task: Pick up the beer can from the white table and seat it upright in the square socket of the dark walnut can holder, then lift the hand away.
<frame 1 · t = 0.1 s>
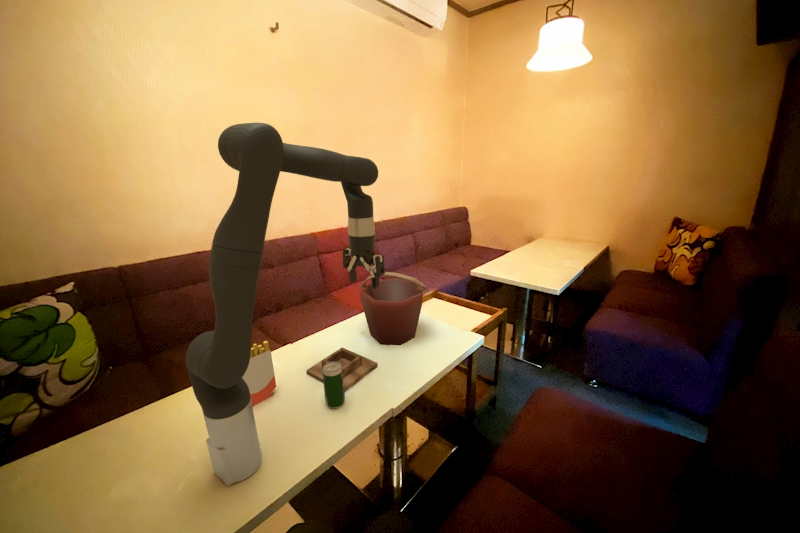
hand: (364, 285, 105), 29 cm above the table, tool pointing down, fingers open, 8 cm apart
bucket: (392, 335, 134), on the table
can holder: (342, 370, 113), on the table
french fries container: (256, 399, 101), on the table
beer can: (335, 403, 99), on the table
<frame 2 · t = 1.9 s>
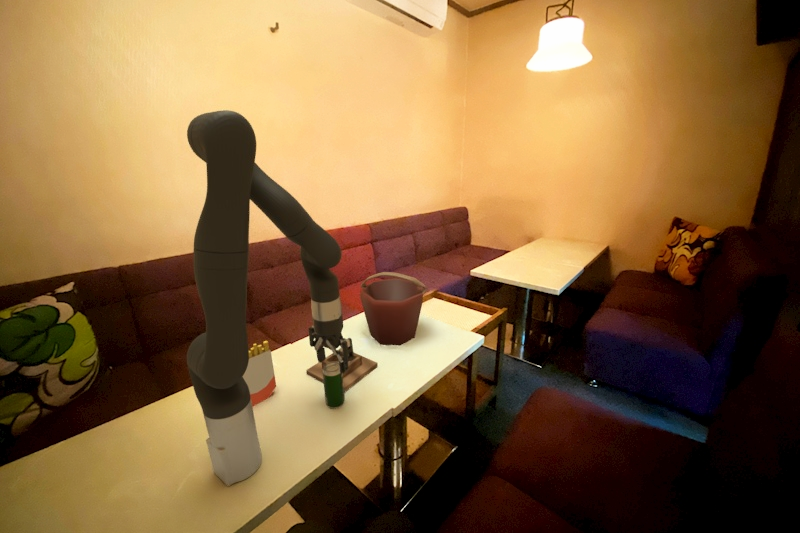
hand: (332, 366, 95), 12 cm above the table, tool pointing down, fingers open, 8 cm apart
nothing on the table moved.
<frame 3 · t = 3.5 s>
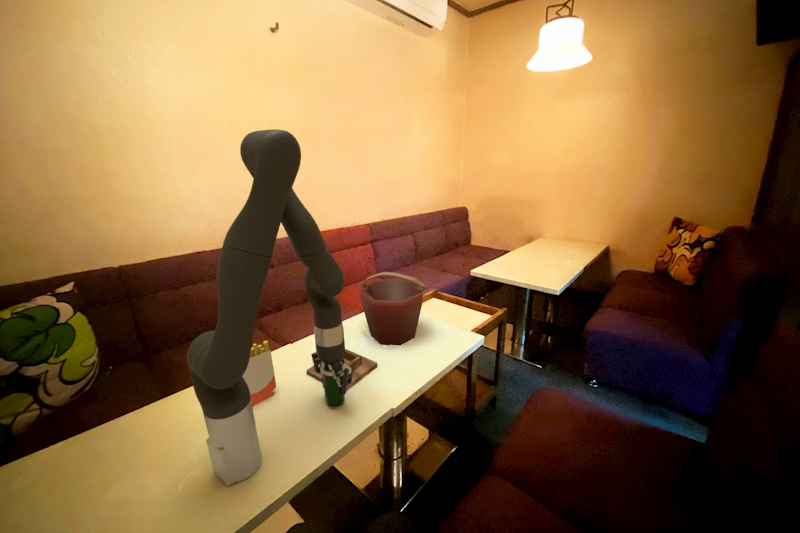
hand: (334, 390, 98), 4 cm above the table, tool pointing down, fingers closed on beer can, 5 cm apart
beer can: (335, 403, 99), on the table, touching gripper
everything else where it was.
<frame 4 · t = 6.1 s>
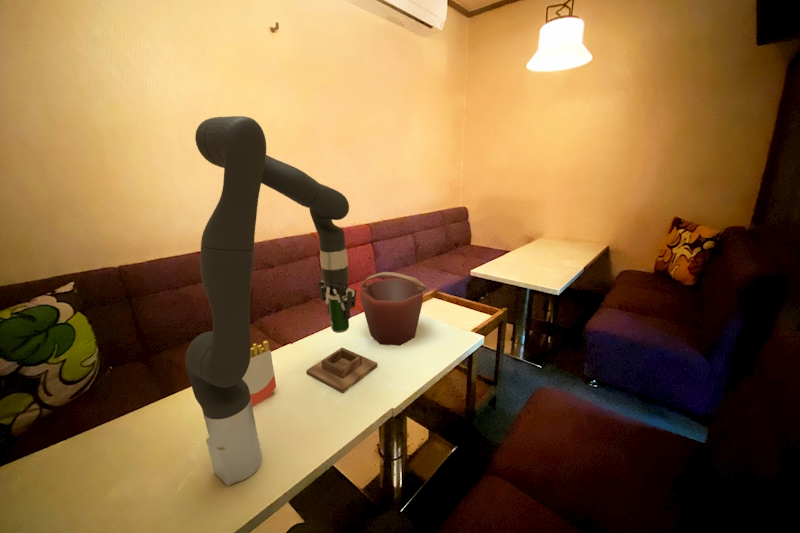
hand: (339, 316, 105), 20 cm above the table, tool pointing down, fingers closed on beer can, 5 cm apart
beer can: (340, 329, 107), point 16 cm above the table, touching gripper
everything else where it was.
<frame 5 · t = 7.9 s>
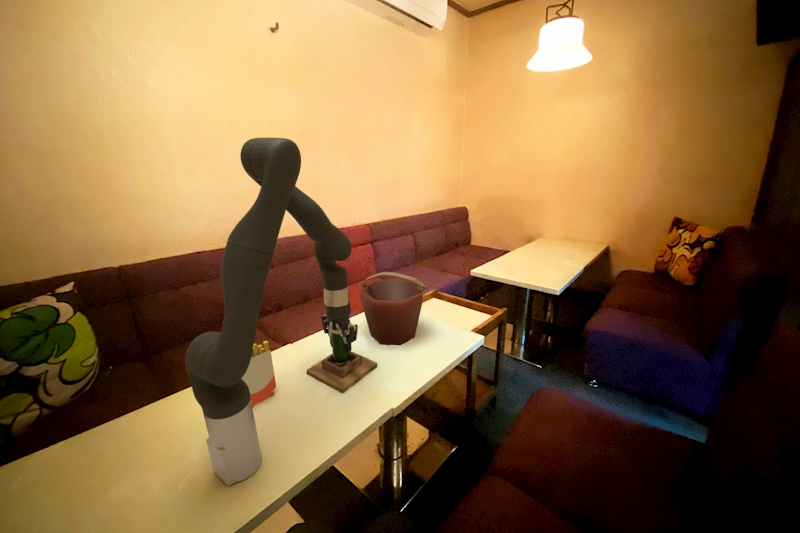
hand: (340, 349, 111), 8 cm above the table, tool pointing down, fingers closed on beer can, 5 cm apart
beer can: (342, 360, 112), point 4 cm above the table, touching gripper
everything else where it was.
when the fingers open (7 cm above the table, at t = 9.0 s): beer can drops 1 cm, resting on can holder.
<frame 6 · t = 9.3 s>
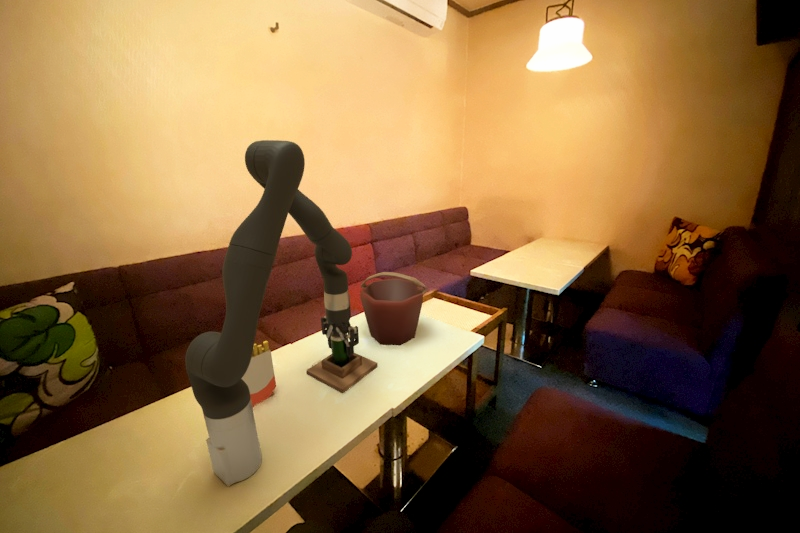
hand: (341, 351, 111), 7 cm above the table, tool pointing down, fingers open, 7 cm apart
beer can: (341, 366, 113), point 1 cm above the table, touching can holder
everything else where it was.
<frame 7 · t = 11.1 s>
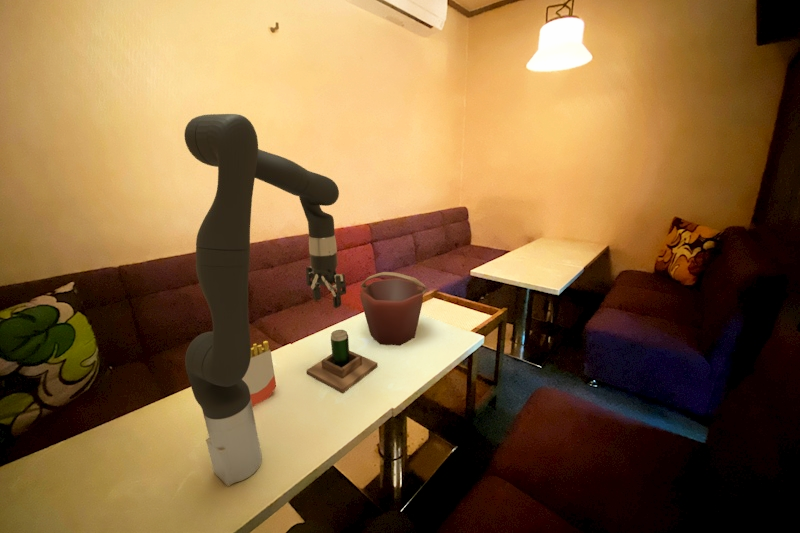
hand: (327, 303, 104), 24 cm above the table, tool pointing down, fingers open, 8 cm apart
nothing on the table moved.
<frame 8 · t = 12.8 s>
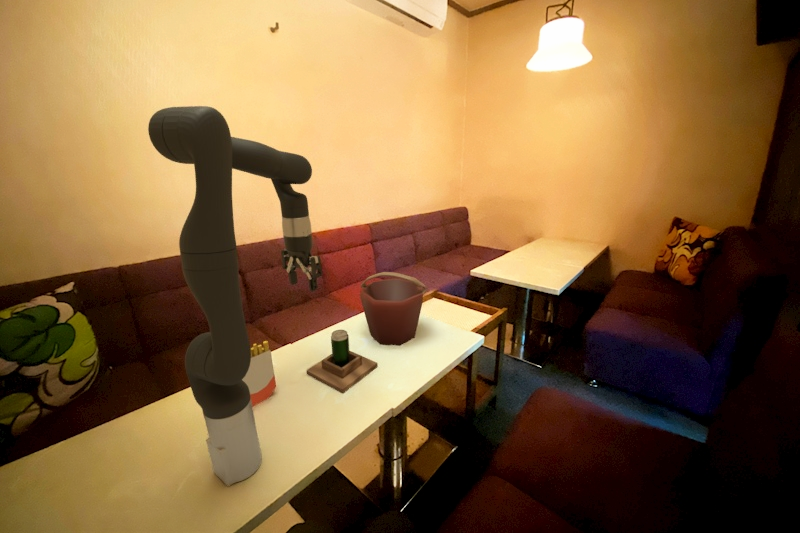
hand: (303, 287, 101), 30 cm above the table, tool pointing down, fingers open, 8 cm apart
nothing on the table moved.
at the end: beer can 0.1 cm off-centre on the can holder, point 1.3 cm above the can holder's base; beer can tilted 0°; the gripper is holding nothing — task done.
